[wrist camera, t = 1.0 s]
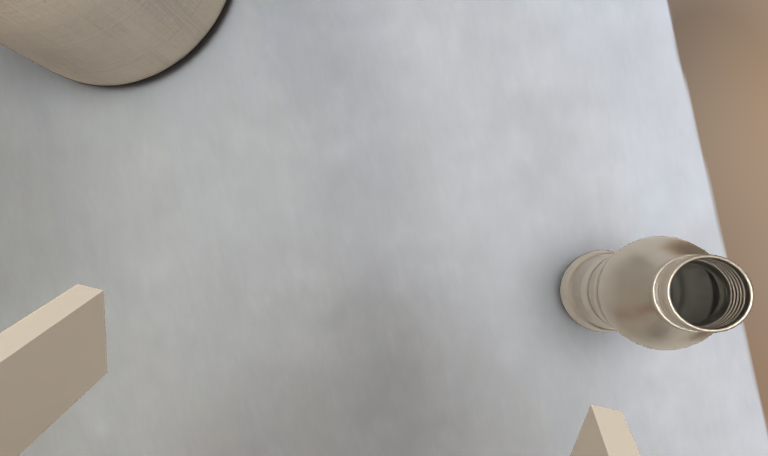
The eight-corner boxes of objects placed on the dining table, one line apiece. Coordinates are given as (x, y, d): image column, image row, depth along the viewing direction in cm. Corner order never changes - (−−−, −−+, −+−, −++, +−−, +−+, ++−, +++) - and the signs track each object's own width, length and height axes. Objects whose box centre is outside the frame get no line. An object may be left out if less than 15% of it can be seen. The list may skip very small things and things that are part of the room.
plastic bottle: (644, 325, 42) (809, 357, 22) (560, 334, 42) (645, 373, 23) (630, 247, 42) (775, 212, 23) (548, 258, 43) (619, 233, 24)
